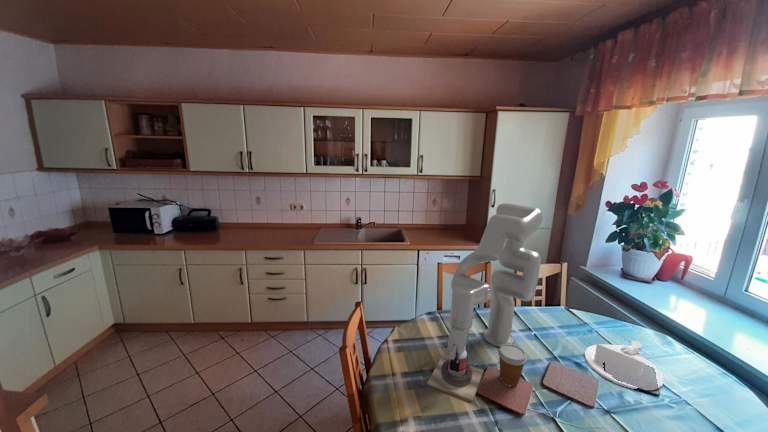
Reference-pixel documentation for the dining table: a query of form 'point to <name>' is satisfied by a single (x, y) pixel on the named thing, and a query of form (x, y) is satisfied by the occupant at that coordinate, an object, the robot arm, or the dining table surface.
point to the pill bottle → (462, 364)
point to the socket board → (453, 390)
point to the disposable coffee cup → (511, 363)
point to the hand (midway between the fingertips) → (457, 364)
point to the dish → (619, 361)
